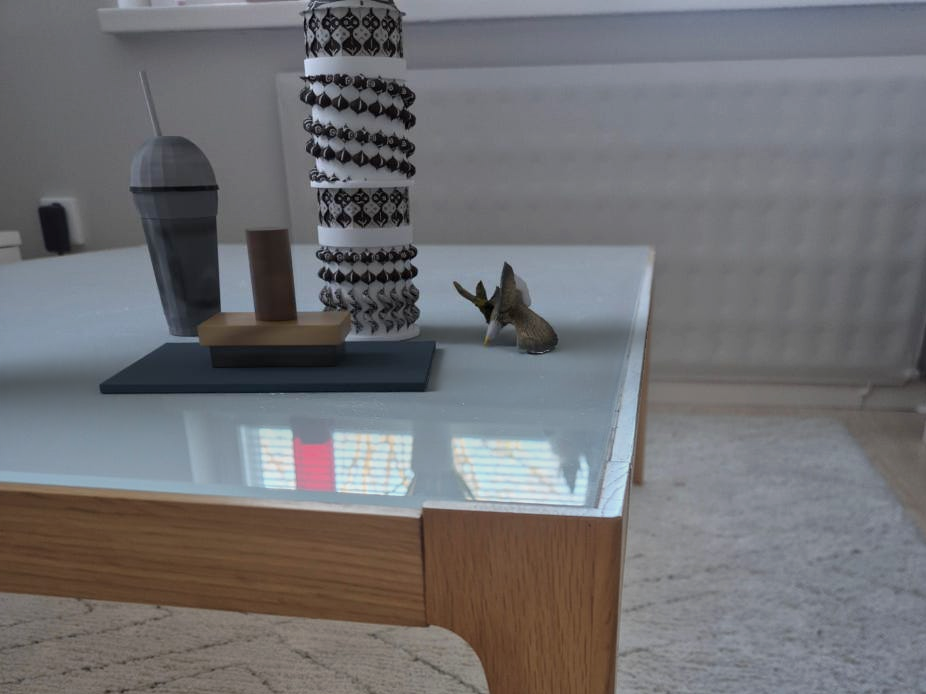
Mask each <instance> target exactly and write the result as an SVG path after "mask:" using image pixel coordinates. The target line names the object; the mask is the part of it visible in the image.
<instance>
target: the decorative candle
mask: <svg viewBox="0 0 926 694" xmlns="http://www.w3.org/2000/svg"><path fill="white" fill-rule="evenodd" d="M298 14H299V15H300V16H301V17H302V20H303V21H302V23H303V33H304V45H305V46H304V47H305V57H306V59H303V64H304V74H305V76H304V75H302V76H301V75H300V76H299V77H298V78H299V79H300V80H302V81H304V83H305V84H307V83H309V86H308V87H307V85H305V86H304V87H303V88H301V90H300V91H299V92H298V94H297V96H298V97H297V98H298V100H300V102H302V103H304V104H305V105H306V106H310V107H311V112H312V115H311V114H309V115H308V116H307V117H306V118H304V120H303V121H302V127H303V129H304V131H306V132H307V133H308V134H310V135H311V138H309V139H308V140H307V141H306V143H305V145H304V151H305V152H306V153H308V154H309V155H311V156H312V157H313V158H315V166H313V167H312V168H311V169H309V172H308V174H309V175H308V178H309V180H310V187H311V188H316V193H317V194H316V196H317V209H318V220H319V225H317V235H318V237H317V238H318V245H320V246H321V247H319V248H318V249H317V250H316V251H315V257H316V259H318V260H319V261H321V262H323V264H324V265H323V266H322V267H321V268H320V269H319V270H318V271H317V277H318V278H319V279H320V280H323V281H324V282H325V285H324V287H323V288H322V289H321V290H320V292H319V293H318V299H319V301H320V302H321V303H322V305H324V306H325V307H324V308H323V309H322V311H350V314H351V328H352V330H351V331H350V333H349V334H348V336H347V337H346V338H345V341H406V340H409V339H412V338H415V337H418V336H419V335H420V326H419V325H417V324H415V323H416V321H418V320H419V319H420V314H421V310H420V308H419V307H418V306H417V305H416V303H417V301H418V300H419V298H420V290H419V289H418V288H417V287H416V286H415V284H414V283H413V282H412V280H413V279H414V278H417V276H418V275H419V274H418V273H419V269H418V267H416V265H413V263H412V262H411V261H412V260H414V259H415V258H416V257H417V255H418V253H419V250H418V248H416V247H415V246H414V245H412V244H413V243H414V235H413V233H414V232H413V223H411V218H410V195H409V191H410V187H414V186H415V180H414V178H412V177H414V176H415V175H416V173H417V169H416V166H415V165H414V164H413V163H411V162H410V161H409V158H410V157H411V156H413V155H414V153H415V152H416V145H415V144H414V143H413V142H411V141H410V140H409V139H408V137H407V138H406V131H408V132H407V133H408V134H409V132H410V129H412V128H413V127H415V125H416V124H417V117H416V116H415V114H413V113H412V112H411V111H410V110H409V108H410V107H412V105H414V103H415V101H416V99H417V97H416V94H415V92H414V91H412V90H411V88H409V86H408V85H405V84H406V82H407V81H408V77H407V76H408V75H407V60H406V59H405V58H404V35H403V34H404V33H403V17H407V13H406V12H405V11H401V10H400V9H399V8H398V7H397V5H396V3H395V2H394V0H309V2H308V5H307V7H306V8H305V10H302V11H300V12H298Z"/></svg>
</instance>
